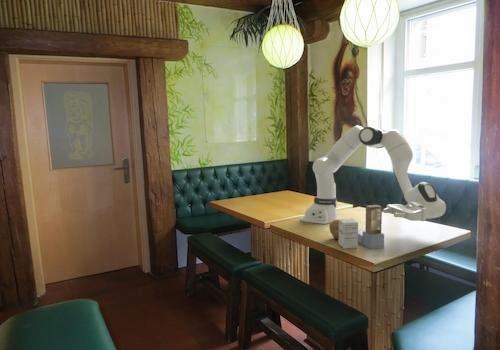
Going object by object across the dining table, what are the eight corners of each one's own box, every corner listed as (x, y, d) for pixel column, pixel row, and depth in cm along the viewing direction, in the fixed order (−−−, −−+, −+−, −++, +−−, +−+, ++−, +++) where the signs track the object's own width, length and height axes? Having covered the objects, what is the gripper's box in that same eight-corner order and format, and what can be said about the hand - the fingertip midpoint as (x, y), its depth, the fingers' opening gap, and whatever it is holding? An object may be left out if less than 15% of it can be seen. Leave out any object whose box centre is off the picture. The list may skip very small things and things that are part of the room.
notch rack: (366, 237, 197) (366, 225, 196) (384, 247, 182) (384, 234, 181) (354, 239, 196) (354, 226, 195) (370, 248, 180) (370, 235, 179)
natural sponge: (345, 236, 201) (345, 217, 200) (349, 241, 192) (349, 222, 191) (328, 236, 201) (328, 217, 200) (330, 241, 193) (331, 222, 191)
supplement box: (338, 243, 189) (338, 218, 187) (352, 243, 189) (353, 218, 188) (343, 248, 181) (343, 222, 180) (358, 248, 182) (358, 222, 180)
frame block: (376, 230, 186) (377, 204, 184) (381, 233, 182) (381, 206, 181) (365, 231, 185) (365, 205, 183) (369, 234, 181) (370, 207, 179)
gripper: (401, 200, 197) (377, 202, 194) (428, 208, 177) (401, 211, 174) (401, 212, 198) (377, 214, 194) (427, 222, 178) (401, 224, 175)
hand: (388, 213), depth 184 cm, fingers open, 8 cm apart
